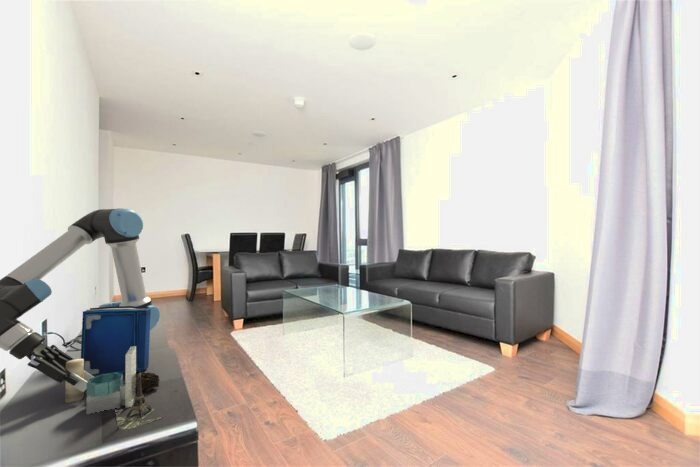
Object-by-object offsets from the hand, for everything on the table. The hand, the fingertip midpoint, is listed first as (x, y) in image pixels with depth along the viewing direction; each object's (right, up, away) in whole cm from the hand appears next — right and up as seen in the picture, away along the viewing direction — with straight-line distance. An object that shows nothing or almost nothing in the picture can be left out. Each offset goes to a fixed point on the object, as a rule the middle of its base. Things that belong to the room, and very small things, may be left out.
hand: (89, 384), depth 102 cm
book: (-4, -4, +18) cm, 19 cm away
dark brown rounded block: (+11, -4, +3) cm, 12 cm away
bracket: (+11, -4, -6) cm, 13 cm away
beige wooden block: (-3, -4, -2) cm, 5 cm away
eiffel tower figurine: (+23, -4, -11) cm, 26 cm away
